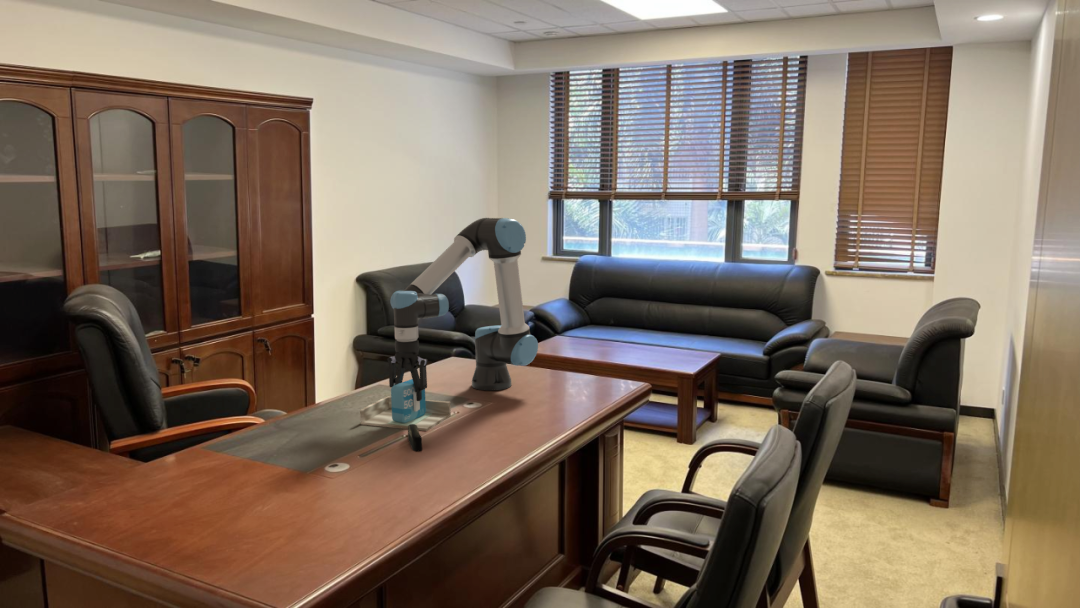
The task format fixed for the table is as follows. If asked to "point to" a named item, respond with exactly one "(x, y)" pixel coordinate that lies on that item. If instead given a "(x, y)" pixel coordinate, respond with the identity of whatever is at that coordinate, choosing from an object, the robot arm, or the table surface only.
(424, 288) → the robot arm
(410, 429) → the mobile phone
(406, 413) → the data package
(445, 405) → the tray
